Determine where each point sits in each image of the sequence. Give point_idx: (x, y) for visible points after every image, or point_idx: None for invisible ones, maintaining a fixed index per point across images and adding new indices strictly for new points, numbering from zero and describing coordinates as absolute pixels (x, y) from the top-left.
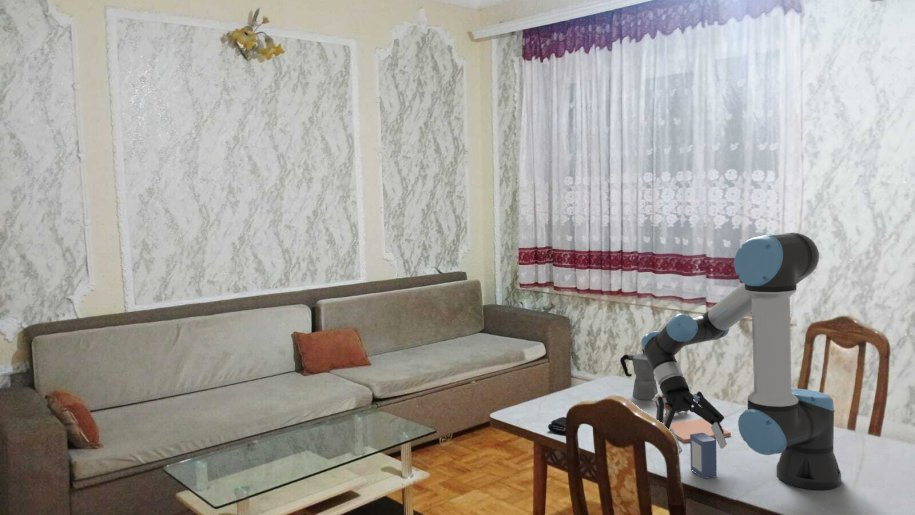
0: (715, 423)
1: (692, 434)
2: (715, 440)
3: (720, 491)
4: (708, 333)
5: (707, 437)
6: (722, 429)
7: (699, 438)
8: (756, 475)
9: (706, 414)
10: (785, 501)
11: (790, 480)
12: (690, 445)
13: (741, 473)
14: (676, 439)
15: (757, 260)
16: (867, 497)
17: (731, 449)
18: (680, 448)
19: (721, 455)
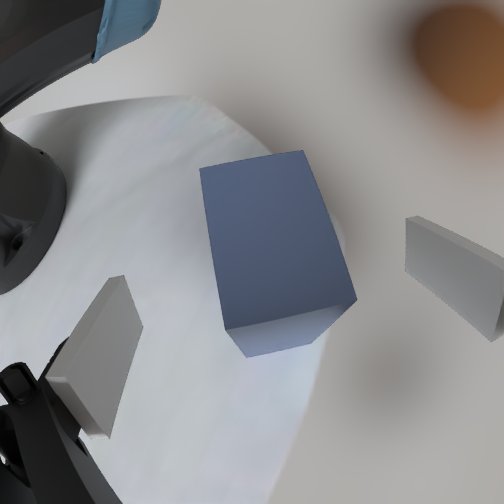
0: (64, 369)
1: (338, 296)
2: (205, 170)
3: None
4: None
5: (238, 216)
6: (54, 356)
7: (307, 204)
8: (95, 254)
9: (73, 469)
10: (137, 115)
11: (60, 176)
12: (334, 320)
13: (129, 277)
14: (454, 238)
15: None
16: None
17: None
18: (417, 220)
19: (121, 458)
